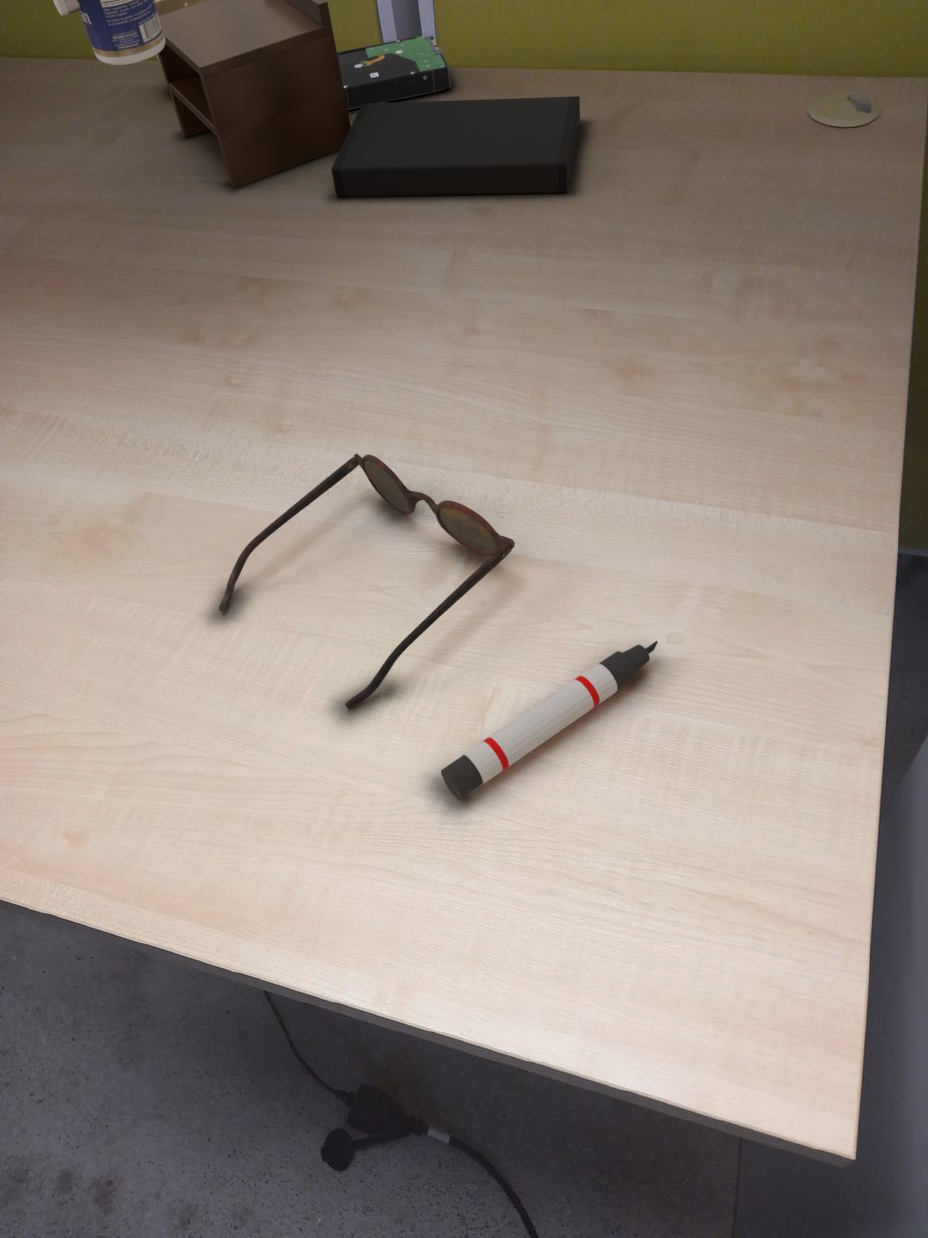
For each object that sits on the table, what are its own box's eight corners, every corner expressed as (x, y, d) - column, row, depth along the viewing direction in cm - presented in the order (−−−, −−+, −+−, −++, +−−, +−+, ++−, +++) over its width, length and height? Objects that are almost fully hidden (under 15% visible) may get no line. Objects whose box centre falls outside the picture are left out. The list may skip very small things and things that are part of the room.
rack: (234, 188, 106) (193, 44, 96) (182, 134, 116) (139, -2, 105) (354, 144, 110) (327, 1, 99) (294, 95, 119) (263, -40, 109)
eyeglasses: (517, 572, 68) (513, 518, 64) (359, 719, 62) (344, 670, 58) (364, 484, 75) (351, 431, 71) (208, 608, 69) (185, 557, 65)
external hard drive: (367, 130, 111) (362, 102, 109) (580, 124, 107) (580, 94, 105) (337, 197, 103) (331, 168, 100) (568, 193, 99) (567, 163, 96)
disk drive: (325, 118, 115) (453, 89, 116) (320, 93, 113) (450, 63, 114) (313, 81, 122) (434, 54, 122) (308, 56, 119) (431, 29, 120)
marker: (463, 805, 57) (459, 787, 56) (442, 781, 58) (438, 763, 57) (667, 663, 62) (668, 643, 60) (644, 644, 63) (645, 623, 61)
